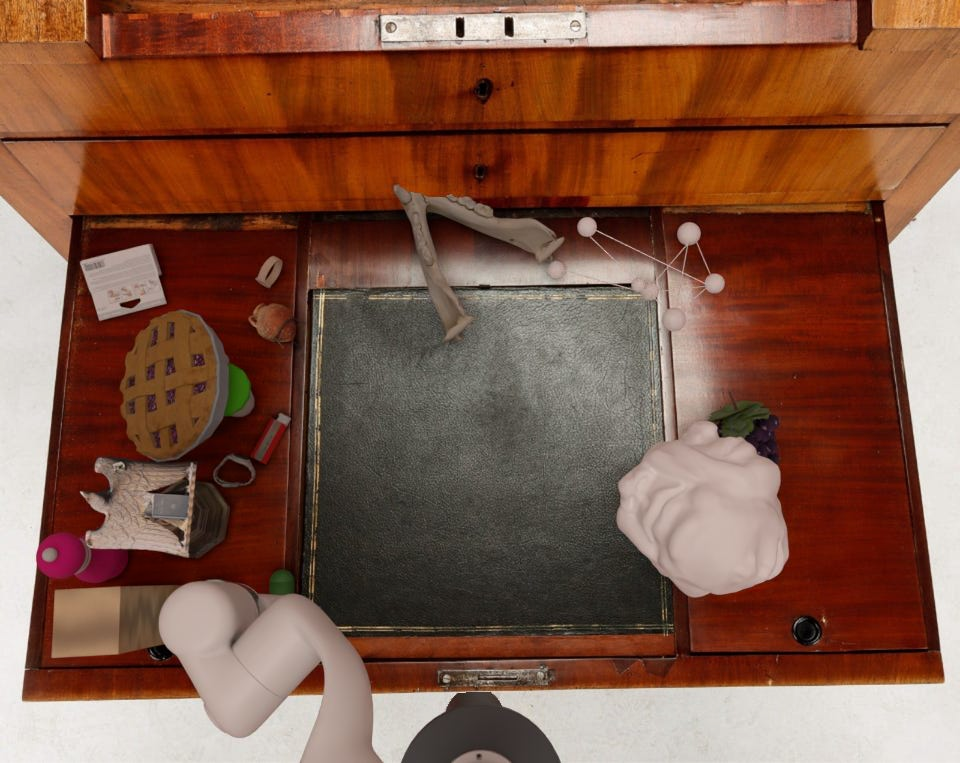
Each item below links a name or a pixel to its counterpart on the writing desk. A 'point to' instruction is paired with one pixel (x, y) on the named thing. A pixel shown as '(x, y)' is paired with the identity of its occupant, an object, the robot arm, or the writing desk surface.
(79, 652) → the oak stand
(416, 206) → the jawbone
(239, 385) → the cup
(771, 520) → the head sculpture
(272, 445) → the lighter
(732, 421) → the fruit
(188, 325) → the pie
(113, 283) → the ink cartridge box
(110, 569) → the pepper mill
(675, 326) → the molecule model
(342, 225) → the writing desk surface
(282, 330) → the pot
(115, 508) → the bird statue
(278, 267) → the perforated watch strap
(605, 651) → the writing desk surface
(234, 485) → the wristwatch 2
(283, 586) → the cucumber
